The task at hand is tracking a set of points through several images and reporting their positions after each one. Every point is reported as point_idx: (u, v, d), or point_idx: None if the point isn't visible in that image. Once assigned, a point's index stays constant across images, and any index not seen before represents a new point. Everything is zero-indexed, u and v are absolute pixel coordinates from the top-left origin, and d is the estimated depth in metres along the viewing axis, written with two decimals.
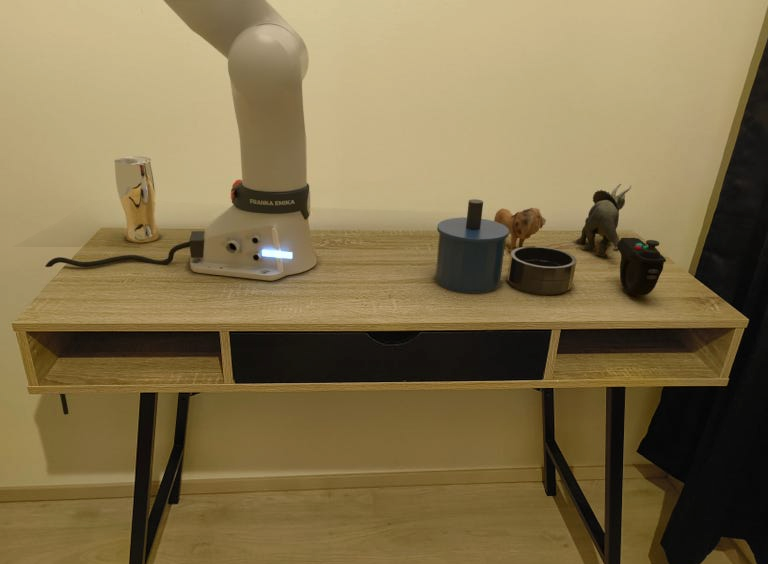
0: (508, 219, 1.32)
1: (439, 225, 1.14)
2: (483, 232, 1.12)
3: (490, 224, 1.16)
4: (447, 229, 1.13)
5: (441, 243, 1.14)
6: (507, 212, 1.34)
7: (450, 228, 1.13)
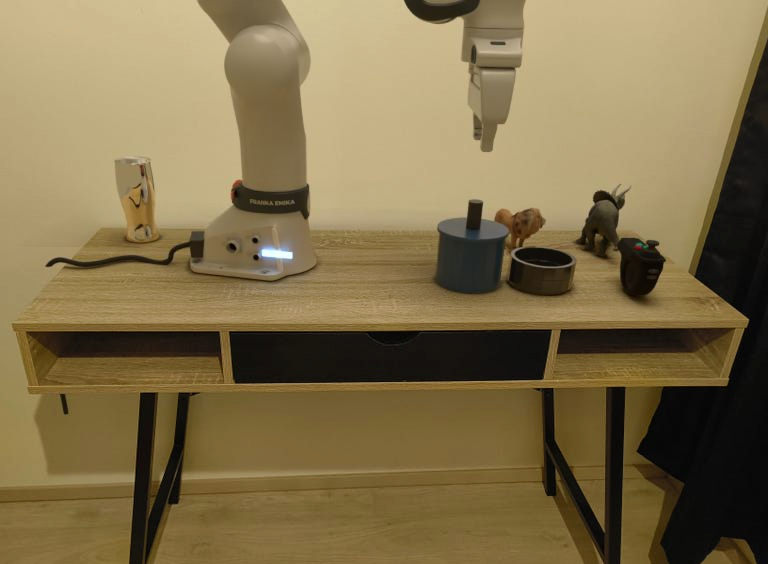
0: (508, 219, 1.32)
1: (439, 225, 1.14)
2: (483, 232, 1.12)
3: (490, 224, 1.16)
4: (447, 229, 1.13)
5: (441, 243, 1.14)
6: (507, 212, 1.34)
7: (450, 228, 1.13)
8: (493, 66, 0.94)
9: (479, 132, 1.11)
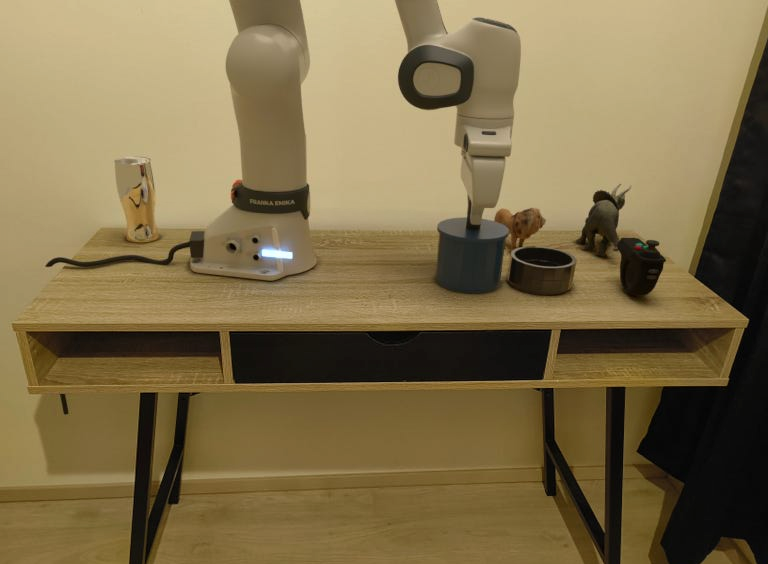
0: (508, 219, 1.32)
1: (439, 225, 1.14)
2: (483, 232, 1.12)
3: (490, 224, 1.16)
4: (447, 229, 1.13)
5: (441, 243, 1.14)
6: (507, 212, 1.34)
7: (450, 228, 1.13)
8: (484, 155, 1.00)
9: None
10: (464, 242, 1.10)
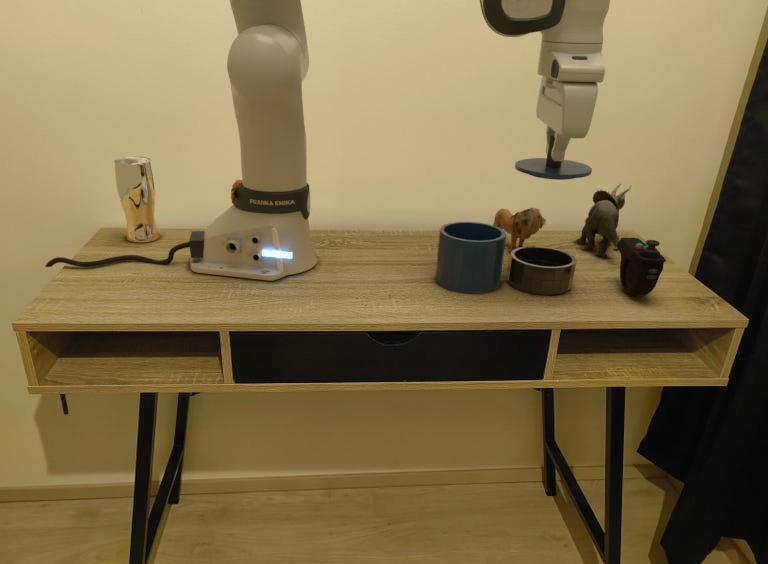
0: (508, 219, 1.32)
1: (517, 164, 1.09)
2: (565, 169, 1.07)
3: (569, 163, 1.11)
4: (527, 166, 1.08)
5: (441, 243, 1.14)
6: (507, 212, 1.34)
7: (529, 166, 1.08)
8: (576, 81, 0.95)
9: None
10: (464, 242, 1.10)
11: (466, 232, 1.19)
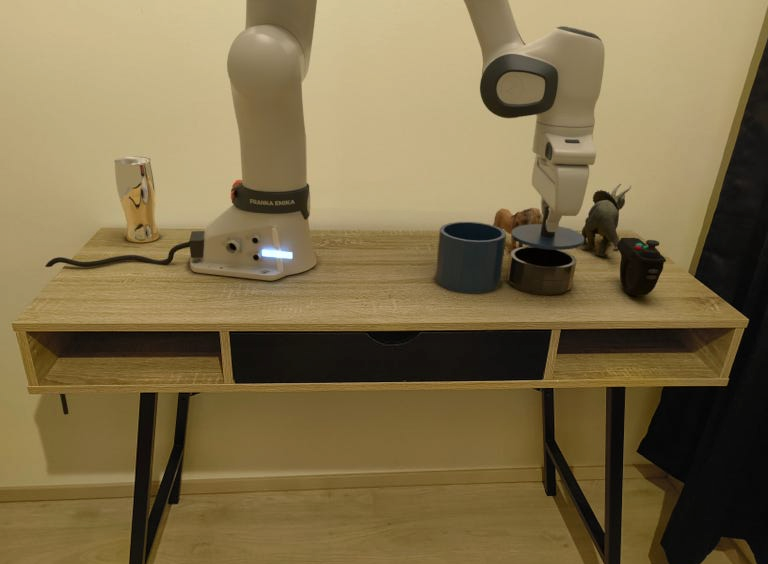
0: (508, 219, 1.32)
1: (513, 232, 1.15)
2: (559, 239, 1.12)
3: (563, 231, 1.16)
4: (522, 236, 1.13)
5: (441, 243, 1.14)
6: (507, 212, 1.34)
7: (525, 235, 1.14)
8: (568, 164, 1.00)
9: None
10: (464, 242, 1.10)
11: (466, 232, 1.19)
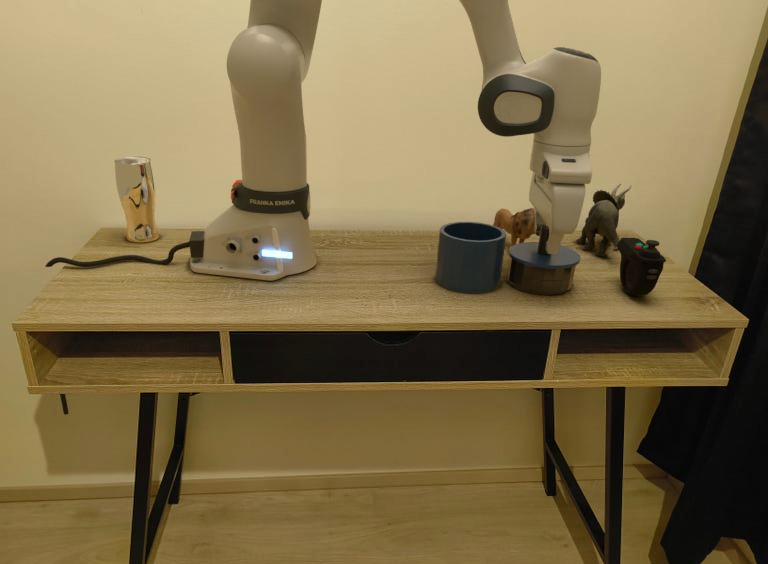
0: (508, 219, 1.32)
1: (511, 250, 1.16)
2: (555, 258, 1.14)
3: (560, 249, 1.18)
4: (519, 254, 1.15)
5: (441, 243, 1.14)
6: (507, 212, 1.34)
7: (522, 253, 1.15)
8: (565, 183, 1.02)
9: None
10: (464, 242, 1.10)
11: (466, 232, 1.19)
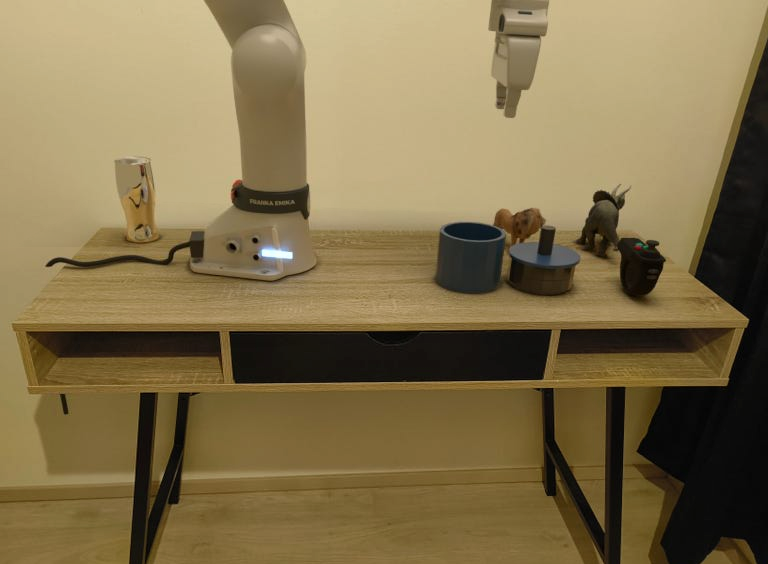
0: (508, 219, 1.32)
1: (511, 250, 1.16)
2: (555, 258, 1.14)
3: (560, 249, 1.18)
4: (519, 254, 1.15)
5: (441, 243, 1.14)
6: (507, 212, 1.34)
7: (522, 253, 1.15)
8: (520, 34, 1.00)
9: (502, 101, 1.16)
10: (464, 242, 1.10)
11: (466, 232, 1.19)
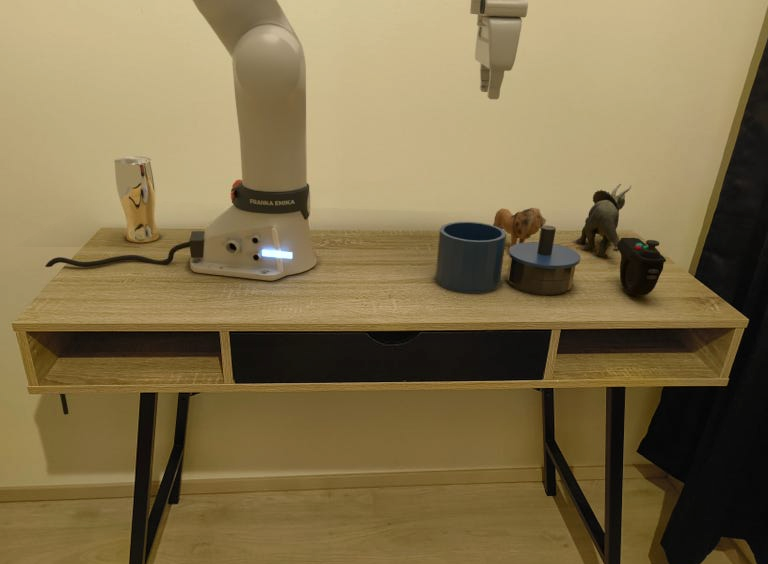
0: (508, 219, 1.32)
1: (511, 250, 1.16)
2: (555, 258, 1.14)
3: (560, 249, 1.18)
4: (519, 254, 1.15)
5: (441, 243, 1.14)
6: (507, 212, 1.34)
7: (522, 253, 1.15)
8: (501, 15, 1.02)
9: (486, 84, 1.18)
10: (464, 242, 1.10)
11: (466, 232, 1.19)
